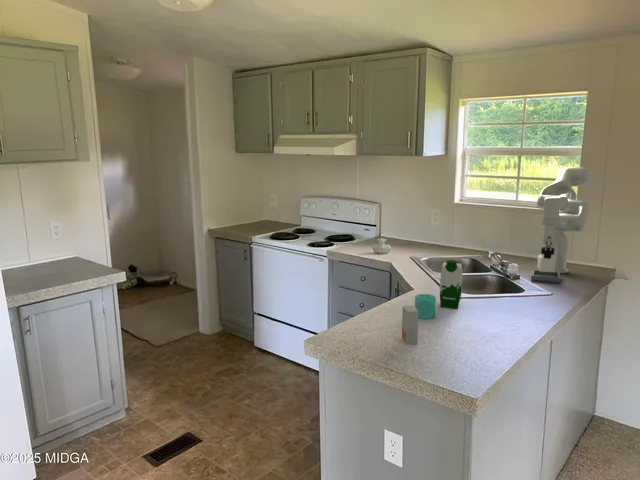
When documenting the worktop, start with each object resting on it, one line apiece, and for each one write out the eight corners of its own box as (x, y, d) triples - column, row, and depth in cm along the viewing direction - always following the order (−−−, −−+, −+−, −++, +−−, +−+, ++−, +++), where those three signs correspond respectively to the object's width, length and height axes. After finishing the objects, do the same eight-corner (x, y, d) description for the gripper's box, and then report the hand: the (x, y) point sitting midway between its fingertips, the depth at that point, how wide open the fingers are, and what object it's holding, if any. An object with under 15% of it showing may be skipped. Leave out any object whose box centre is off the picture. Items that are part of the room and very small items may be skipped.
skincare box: (401, 337, 172) (402, 305, 170) (413, 337, 172) (414, 305, 170) (405, 344, 166) (406, 311, 164) (417, 344, 167) (419, 311, 164)
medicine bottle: (555, 272, 242) (557, 249, 240) (540, 271, 243) (542, 248, 241) (551, 269, 249) (553, 246, 247) (536, 268, 250) (538, 245, 248)
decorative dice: (434, 313, 198) (435, 294, 196) (435, 319, 190) (435, 300, 189) (414, 311, 199) (415, 293, 198) (414, 318, 192) (415, 299, 190)
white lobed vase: (371, 256, 310) (371, 244, 301) (372, 247, 315) (372, 235, 306) (390, 257, 308) (390, 245, 299) (391, 248, 313) (391, 236, 304)
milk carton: (438, 307, 204) (440, 261, 200) (440, 301, 213) (442, 257, 209) (459, 310, 201) (462, 263, 198) (461, 303, 210) (463, 258, 206)
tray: (531, 275, 256) (532, 269, 255) (559, 277, 250) (559, 272, 250) (531, 281, 244) (531, 275, 243) (559, 284, 239) (560, 278, 238)
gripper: (542, 219, 251) (539, 252, 254) (542, 223, 235) (538, 259, 239) (558, 220, 248) (555, 254, 251) (559, 224, 232) (555, 260, 235)
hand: (547, 256), depth 245 cm, fingers closed on medicine bottle, 7 cm apart
